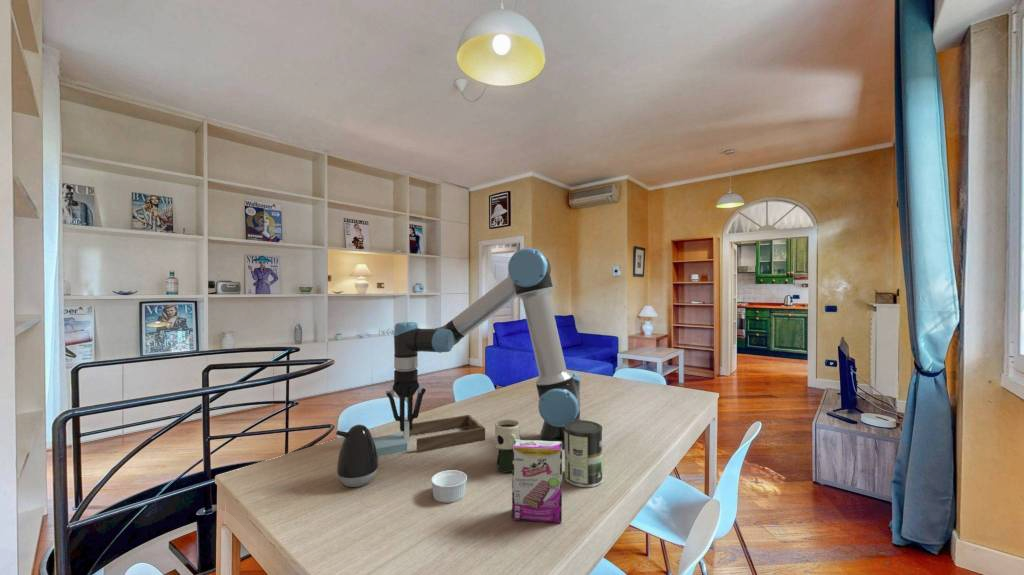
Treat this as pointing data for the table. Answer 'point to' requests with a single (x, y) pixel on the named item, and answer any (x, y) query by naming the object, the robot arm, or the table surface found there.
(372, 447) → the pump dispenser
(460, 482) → the ramekin
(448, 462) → the table surface
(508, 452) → the character mug
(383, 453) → the cover plate
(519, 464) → the candy bar box
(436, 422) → the walnut box
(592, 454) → the coffee can
